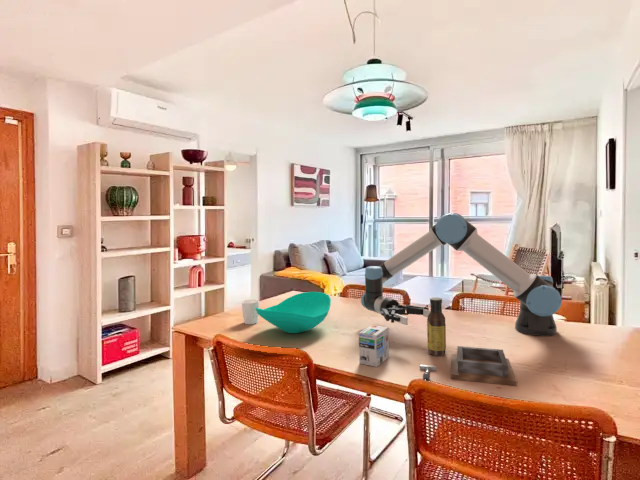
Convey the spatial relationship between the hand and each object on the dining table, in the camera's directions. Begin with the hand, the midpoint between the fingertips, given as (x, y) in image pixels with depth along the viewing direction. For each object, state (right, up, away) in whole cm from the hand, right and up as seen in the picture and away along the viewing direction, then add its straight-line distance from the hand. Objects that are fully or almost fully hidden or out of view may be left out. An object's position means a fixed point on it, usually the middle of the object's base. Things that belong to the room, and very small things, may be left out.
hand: (421, 318), depth 150 cm
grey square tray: (+13, -12, -21) cm, 28 cm away
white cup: (-70, -10, +40) cm, 81 cm away
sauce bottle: (+4, -12, -6) cm, 13 cm away
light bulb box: (-19, -12, -11) cm, 25 cm away
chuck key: (-4, -13, -23) cm, 27 cm away
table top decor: (-48, -10, +25) cm, 55 cm away
